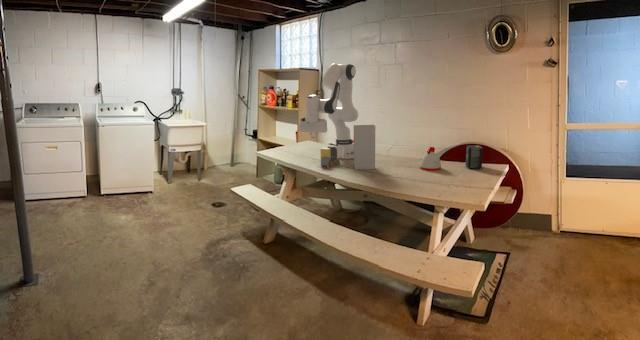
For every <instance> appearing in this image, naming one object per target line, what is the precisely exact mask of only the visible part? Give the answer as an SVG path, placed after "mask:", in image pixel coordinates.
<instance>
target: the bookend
mask: <svg viewBox="0 0 640 340" xmlns="http://www.w3.org/2000/svg"><path fill="white" fill-rule="evenodd" d="M330 162H331V158H327V157H322V158H321V157H320V165H321V166H324V167H327V164H328V163H330Z"/></svg>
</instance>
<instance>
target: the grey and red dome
mask: <svg viewBox="0 0 640 340" xmlns="http://www.w3.org/2000/svg"><path fill="white" fill-rule="evenodd" d="M435 150H436V147H434V146H429V148H428V150H427V152H426V153H425V154H424V155H423V157H422V158H420V159H421V160H420V164H419V169H420V170H422V171H428V172H431V171H432V172H436V171H441V169H442V164H441V163H442V162H441V159H440V158H439V156H438V154H436V152H435Z"/></svg>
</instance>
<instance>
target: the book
mask: <svg viewBox="0 0 640 340" xmlns="http://www.w3.org/2000/svg"><path fill="white" fill-rule="evenodd" d="M322 157H327V158H331V153H330V148H328V147H321V148H320V159H321V158H322Z"/></svg>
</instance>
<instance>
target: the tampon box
mask: <svg viewBox="0 0 640 340" xmlns="http://www.w3.org/2000/svg"><path fill="white" fill-rule="evenodd" d="M483 150H484V147H482V146H481V145H477V144H476V145H470V144H469V145H466V151H465V165H466V166H465V167H466V169H468V168H479V169H478V170H482V169H483V152H484V151H483ZM480 168H481V169H480Z"/></svg>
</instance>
